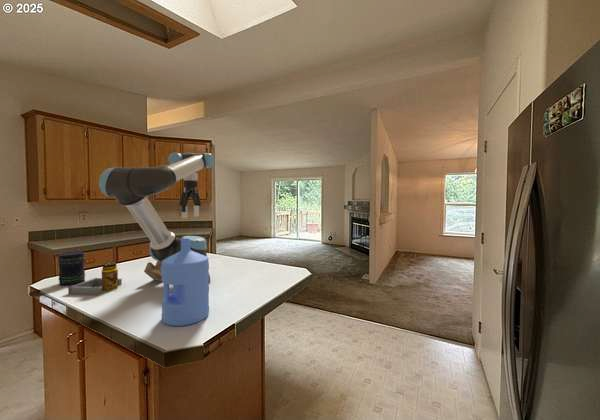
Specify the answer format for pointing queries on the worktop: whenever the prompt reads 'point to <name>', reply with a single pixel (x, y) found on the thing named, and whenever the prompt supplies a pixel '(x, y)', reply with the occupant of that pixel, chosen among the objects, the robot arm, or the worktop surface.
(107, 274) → the condiment
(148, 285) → the worktop surface
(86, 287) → the tray
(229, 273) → the worktop surface
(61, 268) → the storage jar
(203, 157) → the robot arm
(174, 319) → the water jug
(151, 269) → the scraper
